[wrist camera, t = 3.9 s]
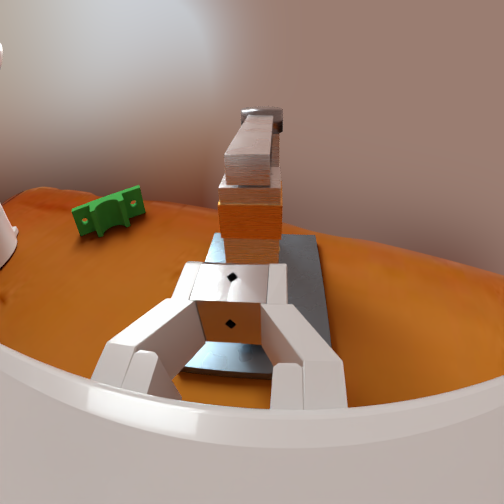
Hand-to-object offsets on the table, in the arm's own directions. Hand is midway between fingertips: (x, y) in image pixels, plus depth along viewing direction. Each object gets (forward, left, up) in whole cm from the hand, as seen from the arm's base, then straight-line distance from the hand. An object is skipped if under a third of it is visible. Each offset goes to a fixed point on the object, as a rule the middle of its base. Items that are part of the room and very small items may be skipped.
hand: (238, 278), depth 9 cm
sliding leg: (0, +8, -12) cm, 14 cm away
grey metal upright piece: (0, +13, -13) cm, 18 cm away
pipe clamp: (-23, +25, -14) cm, 37 cm away
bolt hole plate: (0, +13, -14) cm, 18 cm away
